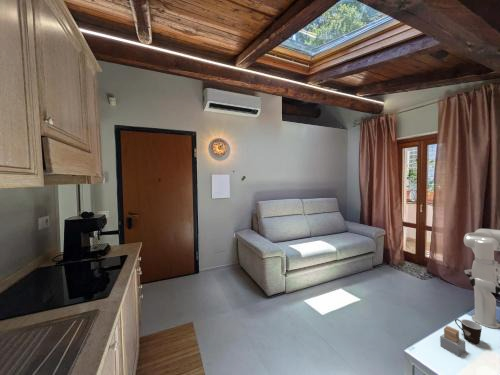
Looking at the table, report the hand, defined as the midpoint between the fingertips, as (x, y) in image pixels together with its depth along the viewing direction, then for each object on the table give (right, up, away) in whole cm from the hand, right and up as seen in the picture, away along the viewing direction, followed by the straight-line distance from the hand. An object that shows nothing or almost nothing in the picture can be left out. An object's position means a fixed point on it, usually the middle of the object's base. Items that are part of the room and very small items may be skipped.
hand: (484, 289), depth 121 cm
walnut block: (-22, -27, -2) cm, 35 cm away
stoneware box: (-22, -34, -2) cm, 40 cm away
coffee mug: (-5, -33, +4) cm, 33 cm away
